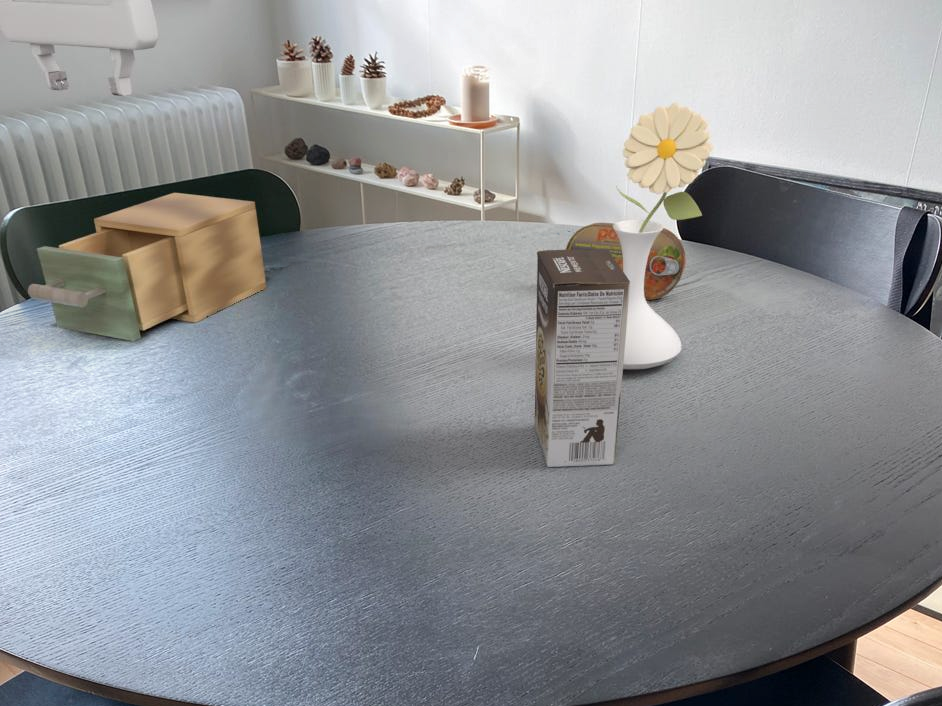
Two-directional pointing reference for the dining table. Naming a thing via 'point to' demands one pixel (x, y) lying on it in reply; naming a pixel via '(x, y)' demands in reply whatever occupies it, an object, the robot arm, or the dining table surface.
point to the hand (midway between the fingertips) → (90, 92)
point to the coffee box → (579, 355)
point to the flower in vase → (660, 168)
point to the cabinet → (203, 246)
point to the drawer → (112, 282)
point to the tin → (661, 262)
